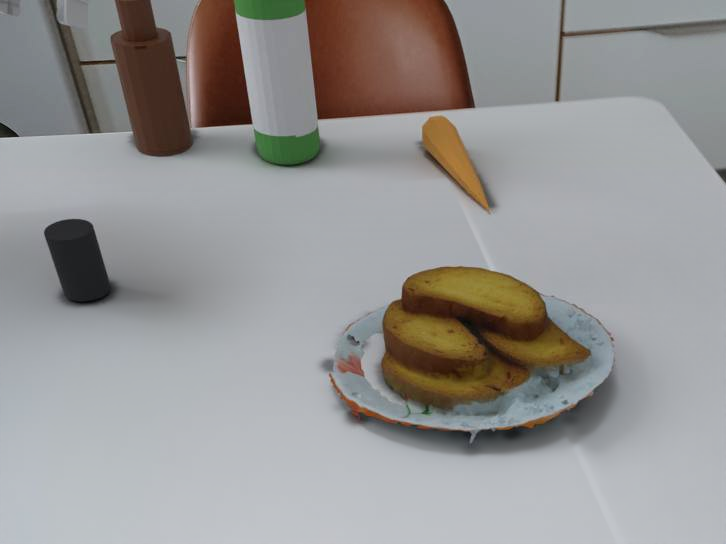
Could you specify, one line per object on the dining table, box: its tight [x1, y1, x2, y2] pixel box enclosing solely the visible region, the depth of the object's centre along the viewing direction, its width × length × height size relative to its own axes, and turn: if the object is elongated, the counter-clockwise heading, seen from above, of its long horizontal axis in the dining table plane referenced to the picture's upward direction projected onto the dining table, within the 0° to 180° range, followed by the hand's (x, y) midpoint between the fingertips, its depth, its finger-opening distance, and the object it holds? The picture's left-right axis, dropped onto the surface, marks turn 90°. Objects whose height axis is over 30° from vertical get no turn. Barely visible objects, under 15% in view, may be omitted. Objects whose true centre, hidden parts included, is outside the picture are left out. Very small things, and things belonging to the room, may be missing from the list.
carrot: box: [421, 115, 491, 212], centre depth 113 cm, size 20×4×4 cm, turn 20°
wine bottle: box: [233, 0, 321, 166], centre depth 107 cm, size 8×8×30 cm
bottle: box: [109, 0, 193, 157], centre depth 114 cm, size 7×7×16 cm
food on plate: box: [328, 265, 616, 444], centre depth 84 cm, size 26×25×7 cm
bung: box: [43, 218, 112, 302], centre depth 91 cm, size 4×4×7 cm
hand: (37, 20), depth 78 cm, fingers open, 8 cm apart
